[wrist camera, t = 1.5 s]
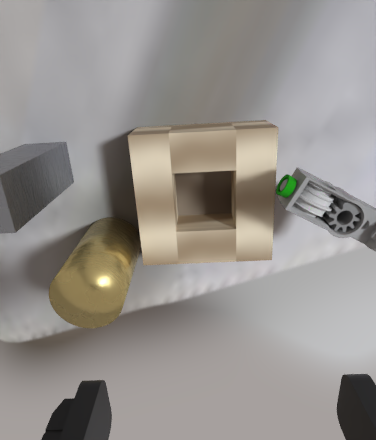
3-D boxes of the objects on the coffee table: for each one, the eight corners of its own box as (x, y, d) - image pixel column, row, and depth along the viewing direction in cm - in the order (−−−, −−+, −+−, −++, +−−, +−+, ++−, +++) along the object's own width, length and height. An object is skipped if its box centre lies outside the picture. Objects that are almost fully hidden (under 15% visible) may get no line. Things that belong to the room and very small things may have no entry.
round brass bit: (81, 218, 35) (41, 268, 26) (137, 216, 35) (117, 265, 26) (90, 267, 38) (57, 329, 28) (143, 265, 37) (127, 326, 28)
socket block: (137, 127, 31) (127, 135, 27) (265, 120, 31) (278, 127, 26) (149, 241, 36) (143, 265, 32) (261, 236, 36) (271, 259, 31)
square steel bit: (25, 144, 32) (-63, 178, 21) (65, 142, 32) (-1, 175, 21) (34, 184, 34) (-43, 235, 23) (73, 182, 34) (15, 232, 23)
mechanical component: (337, 214, 35) (389, 263, 25) (251, 170, 33) (274, 206, 24) (355, 189, 34) (416, 231, 24) (267, 143, 32) (298, 170, 23)
